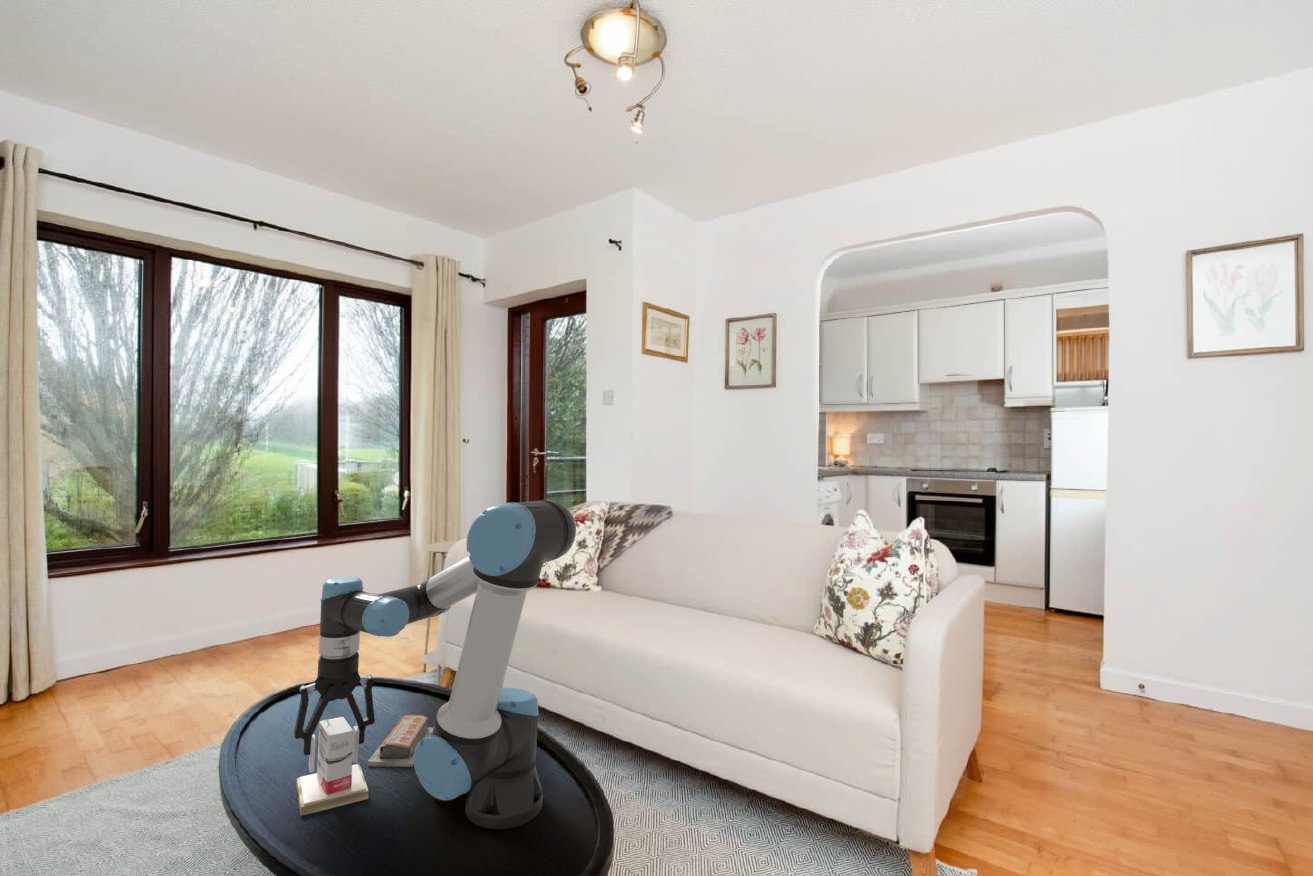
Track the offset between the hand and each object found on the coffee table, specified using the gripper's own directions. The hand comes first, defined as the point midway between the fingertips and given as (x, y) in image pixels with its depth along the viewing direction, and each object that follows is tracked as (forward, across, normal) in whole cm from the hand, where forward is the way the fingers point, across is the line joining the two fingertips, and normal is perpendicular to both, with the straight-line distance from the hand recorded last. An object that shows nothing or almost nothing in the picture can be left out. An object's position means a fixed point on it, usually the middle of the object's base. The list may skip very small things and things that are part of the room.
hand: (333, 764), depth 128 cm
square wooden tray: (+6, 0, 0) cm, 6 cm away
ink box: (+4, 0, 0) cm, 4 cm away
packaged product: (+7, +16, +13) cm, 22 cm away
